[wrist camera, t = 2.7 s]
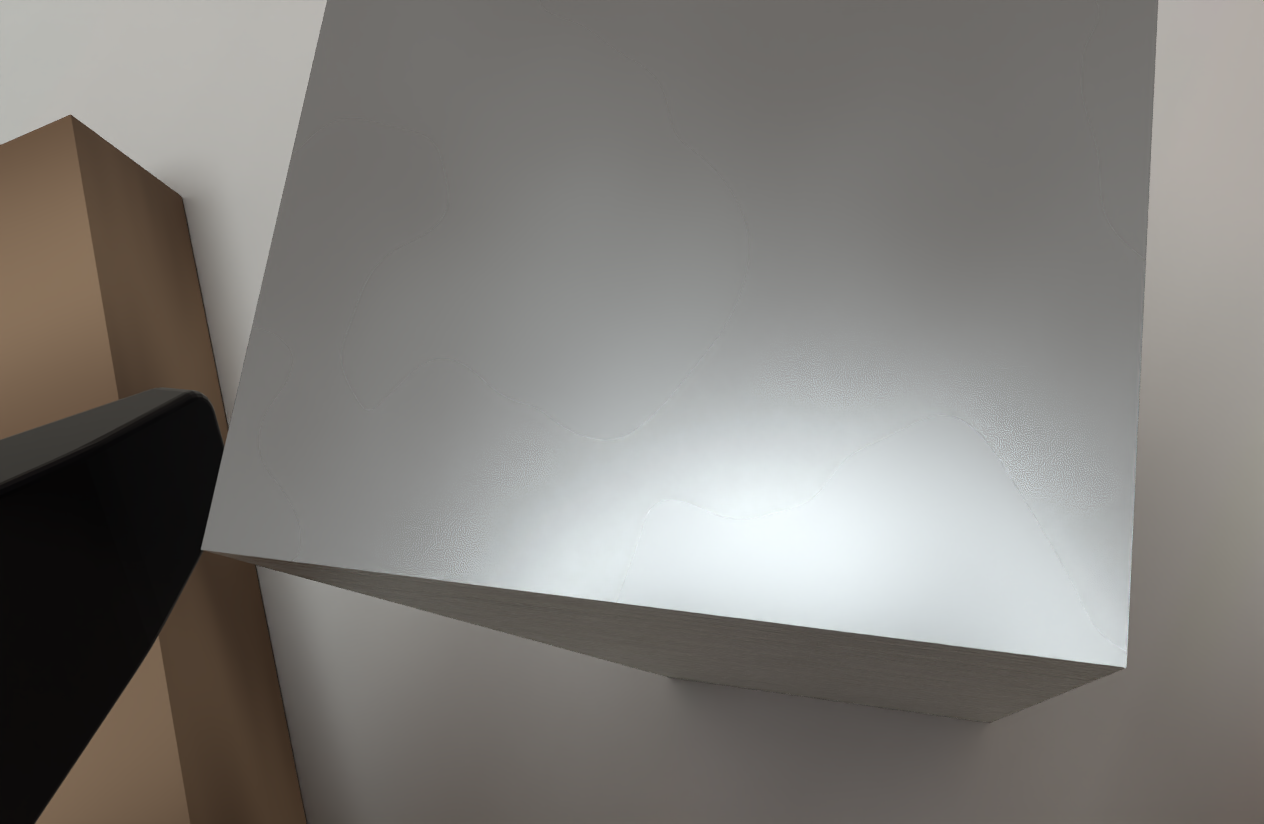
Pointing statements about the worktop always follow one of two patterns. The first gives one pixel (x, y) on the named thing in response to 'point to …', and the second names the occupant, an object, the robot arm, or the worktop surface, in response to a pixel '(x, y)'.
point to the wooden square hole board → (103, 373)
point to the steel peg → (717, 336)
